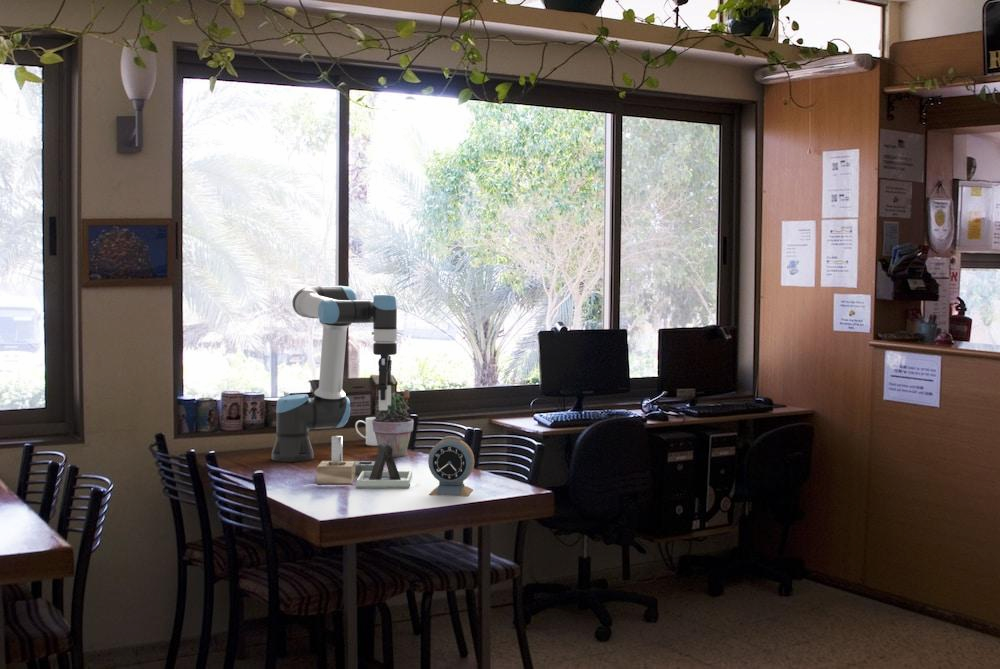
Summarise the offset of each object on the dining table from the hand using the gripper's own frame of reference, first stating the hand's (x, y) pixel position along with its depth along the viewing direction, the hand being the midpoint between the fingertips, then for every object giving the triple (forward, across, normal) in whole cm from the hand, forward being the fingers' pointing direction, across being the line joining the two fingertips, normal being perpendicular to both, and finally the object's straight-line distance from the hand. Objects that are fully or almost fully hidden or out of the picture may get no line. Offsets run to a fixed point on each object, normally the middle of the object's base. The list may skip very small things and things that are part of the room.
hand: (385, 407), depth 357 cm
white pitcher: (+25, -82, -13) cm, 87 cm away
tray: (+25, 0, 0) cm, 25 cm away
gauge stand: (+25, -15, -8) cm, 30 cm away
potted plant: (+25, -57, -3) cm, 62 cm away
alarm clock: (+25, +15, +22) cm, 37 cm away
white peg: (+25, -2, -16) cm, 29 cm away
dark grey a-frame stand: (+24, 0, 0) cm, 24 cm away
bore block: (+25, -2, -16) cm, 29 cm away
